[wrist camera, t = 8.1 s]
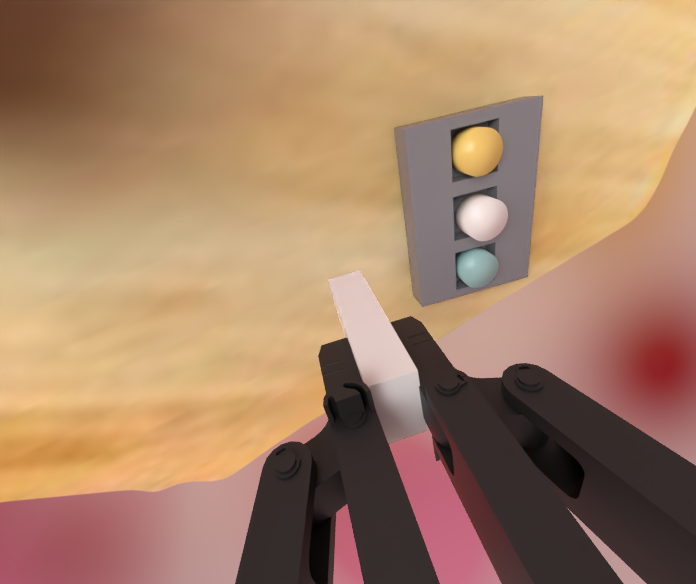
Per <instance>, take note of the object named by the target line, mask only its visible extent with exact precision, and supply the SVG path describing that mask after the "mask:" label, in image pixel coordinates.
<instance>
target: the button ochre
mask: <svg viewBox="0 0 696 584" xmlns="http://www.w3.org/2000/svg"><path fill="white" fill-rule="evenodd" d="M502 152H503V141H502V138H501V136H500V134H499V133H498V132H497V131H496V130H495V129H493V128H489V127H476V126H468V127H464V128H462V129H460V130H459V131H458V132H457V133H456V134H455V135H454V136H453V137H452V139H451V156H452V168H453V169H454V170H456V171H458V172H461V173H464V174H468V175H471V176H475V177H480V176H484V175H486V174H488V173H489V172H491V171H492V170H493V169H494V168H495V167H496V166H497V164H498V163H499V161H500V159H501V156H502Z"/></svg>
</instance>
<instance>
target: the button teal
mask: <svg viewBox="0 0 696 584" xmlns="http://www.w3.org/2000/svg"><path fill="white" fill-rule="evenodd" d="M455 264H456V275H457V276H458V277H459V278H460V279H461V280H462V281H463V282H464V283H466V284H467V285H468V286H469V287H472V288H480V287H483V286H485V285H487V284H489V283H490V282H491V281H492V280H493V279H494V278H495V276H496V274H497V272H498V268H499V263H498V260H497V258H496V257H495V256H494V255H492V254H491V253H489V252H488V251H486V250H485V249H483V248H482V247H476V248H473V249H469V250H465V251H462V252H458V253H457V254H456V255H455Z"/></svg>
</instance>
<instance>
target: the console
mask: <svg viewBox="0 0 696 584" xmlns="http://www.w3.org/2000/svg"><path fill="white" fill-rule="evenodd" d="M542 105H543V96H531V97H521V98H517V99H512V100H508V101H504V102H500V103H496V104H492V105H487V106H483V107H479V108H475V109H471V110H467V111H463V112H458V113H454V114H450V115H446V116H442V117H438V118H434V119H429V120H425V121H421V122H417V123H413V124H409V125H404V126H400V127H396V128H394V130H395V139H396V148H397V157H398V165H399V174H400V183H401V191H402V200H403V209H404V218H405V226H406V235H407V244H408V252H409V261H410V270H411V279H412V287H413V295H414V297H415V298H416V299H417V301H418V302H419V303H420V304H421V306H422V307H424V306H427V305H431V304H434V303H438V302H441V301H445V300H448V299H452V298H455V297H459V296H462V295H466V294H469V293H473V292H476V291H480V290H483V289H487V288H490V287H494V286H497V285H501V284H504V283H508V282H512V281H515V280H519V279H522V278H526V277H528V266H529V255H530V243H531V232H532V220H533V209H534V197H535V186H536V174H537V163H538V151H539V140H540V128H541V117H542ZM468 126H476V127H489V128H493V129H495V130H496V131H497V132H498V133H499V134H500V136H501V138H502V141H503V152H502V156H501V159H500V161H499V163H498V164H497V166H496V167H495V168H494V169H493V170H492V171H491V172H489V173H488V174H486V175H484V176H480V177H475V176H471V175H468V174H464V173H461V172H458V171H456V170H454V169H453V168H452V156H451V139H452V137H453V136H454V135H455V134H456V133H457V132H458V131H459V130H460V129H462V128H464V127H468ZM475 193H482V194H485V195H487V196H490V197H492V198H495V199H498V200H500V201H502V202H503V203H504V204H505V205H506V207H507V210H508V219H507V223H506V225H505V227H504V229H503V230H502V231H501V232H500V234H498V235H497V236H496V237H495V238H493V239H491V240H488V241H478V240H476V239H474V238H472V237H471V236H469V235H467V234H466V233H464V232H463V231H461V230H460V229H459V228H458V227H457V225H456V221H455V214H456V210H457V208H458V206H459V204H460V203H461V202H462V201H463V200H464V199H465V198H466V197H468V196H469V195H472V194H475ZM476 247H482V248H483V249H485V250H486V251H488V252H489V253H491V254H492V255H494V256H495V257H496V258H497V260H498V263H499V268H498V272H497V274H496V276H495V278H494V279H493V280H492V281H491V282H490V283H489V284H487V285H485V286H483V287H480V288H472V287H469V286H468V285H467V284H466V283H464V282H463V281H462V280H461V279H460V278H459V277H458V276H457V275H456V264H455V255H456V254H457V253H458V252H462V251H465V250H469V249H473V248H476Z"/></svg>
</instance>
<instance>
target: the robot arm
mask: <svg viewBox="0 0 696 584" xmlns="http://www.w3.org/2000/svg"><path fill="white" fill-rule="evenodd" d="M328 283H329V286H330V290H331V293H332V297H333V300H334V303H335V307H336V310H337V314H338V317H339V320H340V324H341V327H342V330H343V333H344V336H345V338H344V339H340V340H337V341H334V342H331V343H328V344H325V345H322V346H321V349H320V352H319V356H318V357H319V362H320V366H321V371H322V375H323V380H324V385H325V390H326V395H325V397H324V403H323V406H324V409H325V411H326V414H327V417H328V419H329V420H328V422H327V424H326V426H325V427H324V428H323V430H322V431H321V432H320V433H319V434H318V435H316V436H315V437H314V438H313V439H311V440H310V441H308V442H307V443H305V444H302V443H300V442H288V443H285V444H282V445H280V446H279V447H277V448H276V449H274V450H273V451H272V453H271V454H270V455H269V456H268V457H267V459H266V461H265V464H264V466H263V469H262V473H261V477H260V482H259V486H258V490H257V494H256V498H255V503H254V507H253V511H252V515H251V520H250V524H249V528H248V532H247V536H246V541H245V545H244V550H243V553H242V558H241V562H240V566H239V570H238V574H237V578H236V583H235V584H333V571H334V547H335V523H336V512H337V511H338V510H340V509H341V508H342V507H343V506H345V505H346V504H348V509H349V514H350V518H351V523H352V528H353V533H354V538H355V542H356V547H357V551H358V557H359V561H360V566H361V571H362V575H363V580H364V584H440V583H439V580H438V578H437V575H436V572H435V570H434V567H433V564H432V561H431V559H430V556H429V553H428V551H427V548H426V545H425V542H424V540H423V537H422V534H421V532H420V529H419V526H418V524H417V521H416V518H415V515H414V513H413V510H412V507H411V504H410V502H409V499H408V496H407V493H406V491H405V488H404V485H403V483H402V480H401V477H400V474H399V472H398V469H397V467H396V464H395V461H394V458H393V455H392V453H391V450H390V447H389V444H390V443H393V442H395V441H398V440H401V439H404V438H407V437H410V436H413V435H416V434H419V433H421V432H424V431H427V428H426V424H427V425H428V428H429V429H430V431H431V433H432V439H433V445H434V453H435V458H436V461H438V460H440V459H441V461H442V463H443V465H444V467H445V469H446V471H447V473H448V475H449V477H450V479H451V482H452V484H453V486H454V488H455V489H456V492H457V494H458V496H459V498H460V500H461V502H462V504H463V506H464V508H465V510H466V512H467V514H468V516H469V518H470V520H471V522H472V524H473V526H474V528H475V530H476V532H477V534H478V536H479V538H480V540H481V542H482V544H483V547H484V549H485V550H486V553H487V555H488V557H489V559H490V561H491V563H492V565H493V567H494V569H495V571H496V573H497V575H498V577H499V579H500V581H501V583H502V584H623V582H622V581H621V580H620V578H619V577H618V576H617V574H616V573H615V572H614V570H613V569H612V568H611V566H610V565H609V564H608V562H607V561H606V560H605V558H604V557H603V556H602V554H601V553H600V551H599V550H598V549H597V547H596V546H595V545H594V544H593V542H592V541H591V539H590V538H589V537H588V535H587V534H586V533H585V531H584V530H583V529H582V527H581V526H580V525H579V523H578V522H577V521H576V519H575V518H574V517H573V515H572V514H571V513H570V511H571V512H572V513H573V514H575V515H576V516H577V517H578V518H579V519H580V520H581V521H582V522H583V523H584V524H585V525H586V526H587V527H588V528H589V529H590V530H591V531H592V532H593V533H594V534H595V535H596V536H598V537H599V538H600V539H601V540H602V541H603V542H604V543H605V544H606V545H607V546H608V547H609V548H610V549H611V550H612V551H613V552H614V553H615V554H617V556H619V557H620V558H621V559H622V560H623V561H624V562H625V563H626V564H627V565H628V566H629V567H630V568H631V569H632V570H633V571H634V572H635V573H636V574H637V575H639V577H640V578H641V579H643V580H644V581H645V582H646V583H647V584H696V466H695V465H694V464H692V463H691V462H689V461H687V460H686V459H684V458H683V457H681V456H680V455H678V454H676V453H675V452H673V451H672V450H670V449H669V448H667V447H666V446H664V445H662V444H661V443H659V442H658V441H656V440H654V439H653V438H651V437H650V436H648V435H647V434H645V433H644V432H642V431H641V430H639V429H638V428H636V427H634V426H633V425H631V424H629V423H628V422H627V421H625V420H623V419H622V418H620V417H619V416H617V415H616V414H614V413H613V412H611V411H610V410H608V409H606V408H605V407H603V406H602V405H600V404H599V403H597V402H595V401H594V400H592V399H591V398H589V397H588V396H586V395H585V394H583V393H581V392H580V391H578V390H577V389H575V388H574V387H572V386H571V385H569V384H567V383H566V382H564V381H563V380H561V379H559V378H558V377H557V376H555V375H553V374H552V373H550V372H549V371H547V370H545V369H543V368H541V367H539V366H537V365H533V364H527V363H524V364H515V365H512V366H510V367H508V368H507V369H506V370H505V371H504V372H503V376H502V377H501V378H473V377H469V376H467V375H466V374H465V373H464V372H462V371H459V370H457V369H455V368H454V367H453V366H452V364H451V363H450V362H449V360H448V359H447V357H446V356H445V354H444V353H443V352H442V350H441V349H440V348H439V346H438V345H437V343H436V342H435V341H434V340H433V338H432V336H431V335H430V334H429V333H428V331H427V329H426V328H425V327H424V325H423V324H422V322H420V321H418V320H417V319H415V318H413V317H411V316H410V317H407V318H403V319H400V320H397V321H394V322H391V323H390V321H389V320H388V318H387V316H386V314H385V313H384V311H383V309H382V307H381V306H380V304H379V302H378V300H377V299H376V297H375V295H374V294H373V292H372V290H371V288H370V287H369V285H368V283H367V281H366V280H365V278H364V276H363V274H362V273H361V271H360V270H358V271H354V272H351V273H348V274H345V275H341V276H338V277H335V278H331V279H328ZM439 457H440V458H439ZM567 508H568V509H569V510H570V511H569V510H568V509H567Z"/></svg>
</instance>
